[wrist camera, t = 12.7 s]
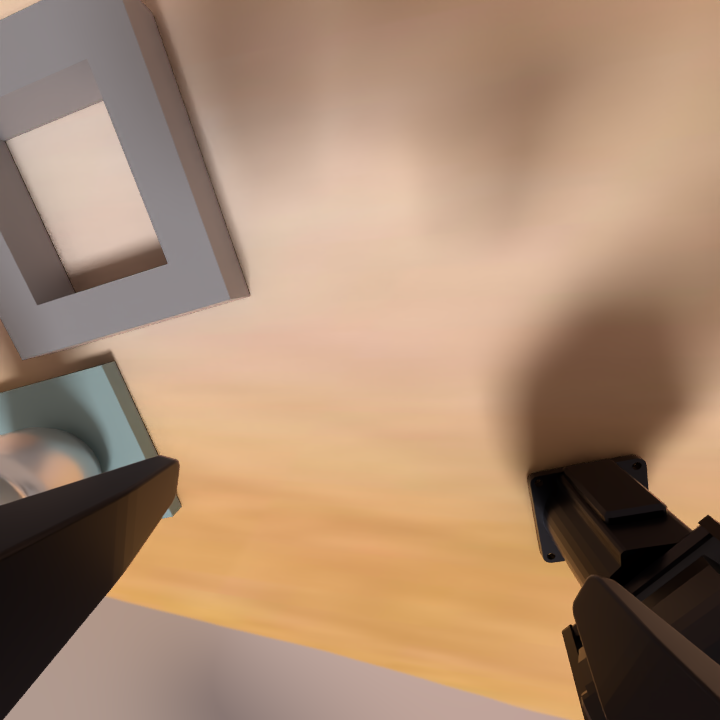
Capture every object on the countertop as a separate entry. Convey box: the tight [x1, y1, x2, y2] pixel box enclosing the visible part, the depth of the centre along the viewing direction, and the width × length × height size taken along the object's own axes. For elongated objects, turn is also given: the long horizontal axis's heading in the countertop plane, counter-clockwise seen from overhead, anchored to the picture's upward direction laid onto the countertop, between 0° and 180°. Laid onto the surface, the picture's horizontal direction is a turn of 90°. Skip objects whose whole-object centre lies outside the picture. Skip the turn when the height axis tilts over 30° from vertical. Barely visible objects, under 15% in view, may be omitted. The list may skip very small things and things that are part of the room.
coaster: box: [0, 361, 182, 518], centre depth 22 cm, size 11×11×1 cm
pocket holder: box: [0, 0, 250, 360], centre depth 17 cm, size 14×13×2 cm
